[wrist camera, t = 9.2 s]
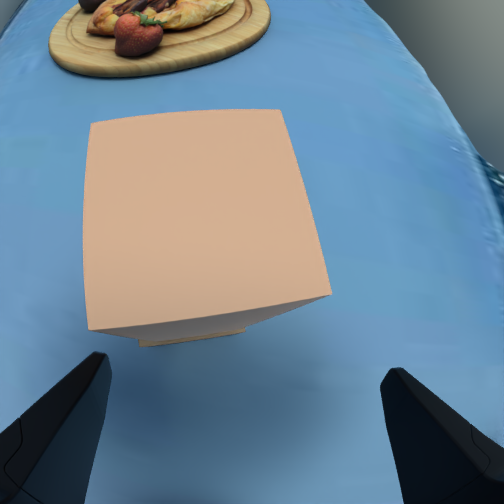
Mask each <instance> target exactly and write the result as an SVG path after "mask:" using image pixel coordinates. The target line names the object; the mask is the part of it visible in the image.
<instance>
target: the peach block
mask: <svg viewBox="0 0 504 504" xmlns="http://www.w3.org/2000/svg"><path fill="white" fill-rule="evenodd" d="M83 266H84V286H85V300H86V311H87V321H88V330H89V331H94V332H99V333H105V334H110V335H116V336H122V337H128V338H134V339H140V340H147V341H154V342H157V341H165V340H173V339H180V338H187V337H194V336H201V335H208V334H214V333H220V332H226V331H232V330H238V329H241V328H244V327H247V326H250V325H252V324H255V323H258V322H261V321H263V320H266V319H269V318H272V317H274V316H277V315H280V314H282V313H285V312H288V311H290V310H293V309H296V308H298V307H301V306H303V305H306V304H308V303H311V302H314V301H316V300H319V299H321V298H324V297H326V296H328V295H331V294H332V291H331V287H330V283H329V278H328V274H327V270H326V266H325V262H324V258H323V254H322V250H321V246H320V242H319V238H318V234H317V230H316V226H315V223H314V219H313V215H312V212H311V208H310V204H309V201H308V197H307V194H306V190H305V187H304V183H303V180H302V177H301V173H300V170H299V167H298V163H297V160H296V157H295V153H294V150H293V147H292V144H291V141H290V138H289V134H288V131H287V128H286V125H285V122H284V119H283V116H282V113H281V110H274V109H225V110H200V111H184V112H171V113H160V114H151V115H142V116H134V117H126V118H119V119H113V120H106V121H100V122H95V123H91V128H90V135H89V143H88V152H87V162H86V173H85V187H84V207H83Z"/></svg>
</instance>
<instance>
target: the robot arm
mask: <svg viewBox="0 0 504 504" xmlns="http://www.w3.org/2000/svg"><path fill="white" fill-rule="evenodd" d="M111 378H112V370H111V366H110V362H109V358H108V355H107V354H106V353H102V352H96V351H95V352H93V353H91V354H90V355H89V356H88V357H87V358H86V359H84V360H83V361H82V362H81V363H80V364H79V365H77V366H76V367H75V368H74V369H73V370H72V371H71V372H69V373H68V374H67V375H66V376H65V377H64V378H63V379H61V380H60V381H59V382H58V383H57V384H56V385H55V386H53V387H52V388H51V389H50V390H49V391H48V392H47V393H45V394H44V395H43V396H42V397H41V398H40V399H39V400H38V401H36V402H35V403H34V404H33V405H32V406H31V407H30V408H29V409H27V410H26V411H25V412H24V413H23V414H22V415H21V416H20V418H17V419H16V420H15V421H14V422H13V423H12V424H11V425H10V426H8V427H7V428H6V429H5V430H4V431H3V432H1V433H0V504H84V502H85V497H86V492H87V488H88V483H89V479H90V474H91V470H92V466H93V462H94V458H95V454H96V450H97V446H98V442H99V438H100V434H101V431H102V427H103V423H104V419H105V413H106V407H107V401H108V395H109V389H110V384H111ZM380 392H381V398H382V404H383V410H384V416H385V423H386V428H387V432H388V436H389V440H390V444H391V448H392V452H393V456H394V460H395V465H396V469H397V473H398V478H399V483H400V487H401V492H402V497H403V502H404V504H504V448H503V447H501V446H500V445H498V444H497V443H495V442H494V441H492V440H491V439H490V438H488V437H487V436H485V435H484V434H483V433H482V432H480V431H479V430H478V429H477V428H475V427H474V426H473V425H472V424H470V423H469V422H468V421H467V420H466V419H464V418H463V417H462V416H461V415H460V414H458V413H457V412H456V411H455V410H453V409H452V408H451V407H450V406H449V405H447V404H446V403H445V402H444V401H442V400H441V399H440V398H439V397H438V396H436V395H435V394H434V393H433V392H431V391H430V390H429V389H428V388H427V387H425V386H424V385H423V384H422V383H420V382H419V381H418V380H417V379H416V378H414V377H413V376H412V375H411V374H409V373H408V372H407V371H406V370H404V369H403V368H401V367H397V368H391V369H390V370H389V371H388V373H387V374H386V376H385V378H384V379H383V381H382V382H381V385H380Z"/></svg>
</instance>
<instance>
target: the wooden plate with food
mask: <svg viewBox="0 0 504 504" xmlns="http://www.w3.org/2000/svg"><path fill="white" fill-rule="evenodd" d="M78 1H79V3H78V4H76V5H75V6H74V7H72V8H71V9H70V10H69V11H68V12H66V13H65V14H64V15H63V16H62V17H61V19H60V20H59V21H58V22H57V24H56V25H55V26H54V28H53V30H52V31H51V34H50V37H49V43H48V47H49V53H50V55H51V57H52V58H53V60H54V61H55V62H56V63H57V64H58V65H60V66H61V67H63V68H64V69H67V70H69V71H72V72H75V73H79V74H83V75H89V76H98V77H130V76H144V75H152V74H160V73H167V72H172V71H178V70H182V69H187V68H191V67H196V66H200V65H204V64H207V63H211V62H214V61H217V60H220V59H223V58H226V57H229V56H231V55H233V54H236V53H238V52H240V51H242V50H244V49H246V48H247V47H249V46H251V45H252V44H254V43H255V42H256V41H258V40H259V39H260V38H261V37H262V36H263V35H264V34H265V32H266V31H267V29H268V27H269V25H270V20H271V13H270V9H269V6H268V4H267V3H266V2H265V0H78Z"/></svg>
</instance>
